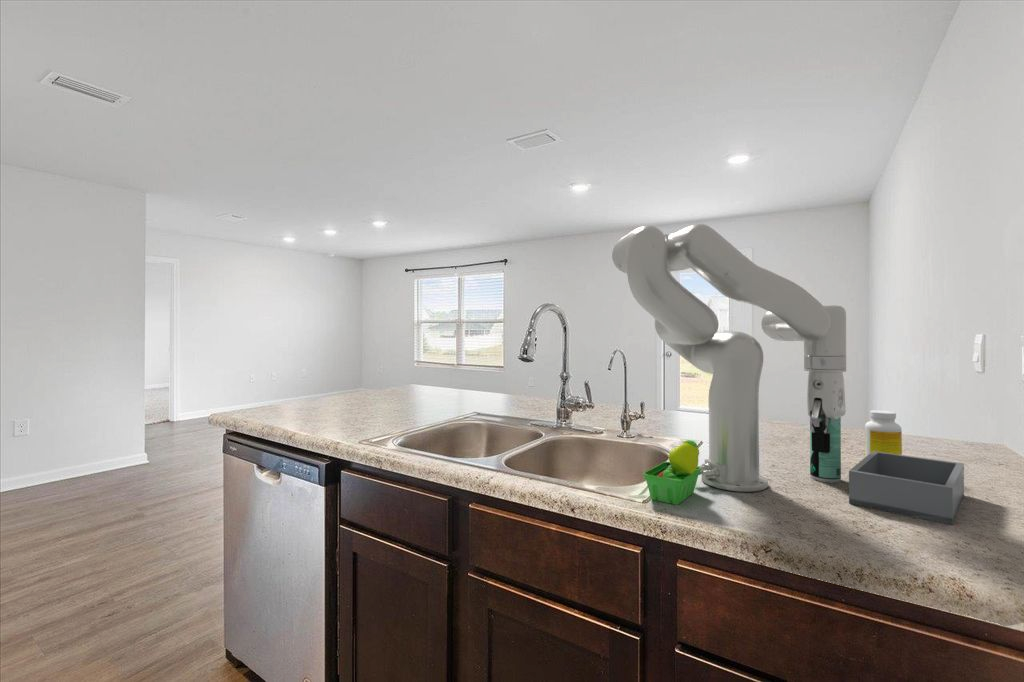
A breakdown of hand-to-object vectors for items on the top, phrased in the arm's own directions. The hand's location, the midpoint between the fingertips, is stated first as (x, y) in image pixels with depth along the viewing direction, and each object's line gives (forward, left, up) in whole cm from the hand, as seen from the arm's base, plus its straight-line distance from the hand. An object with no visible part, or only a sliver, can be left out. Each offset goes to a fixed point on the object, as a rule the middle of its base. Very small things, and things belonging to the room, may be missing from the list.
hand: (825, 448), depth 102 cm
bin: (+4, -14, -6) cm, 16 cm away
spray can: (0, 0, -7) cm, 7 cm away
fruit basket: (-36, -1, -7) cm, 37 cm away
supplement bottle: (+19, +3, -7) cm, 20 cm away
